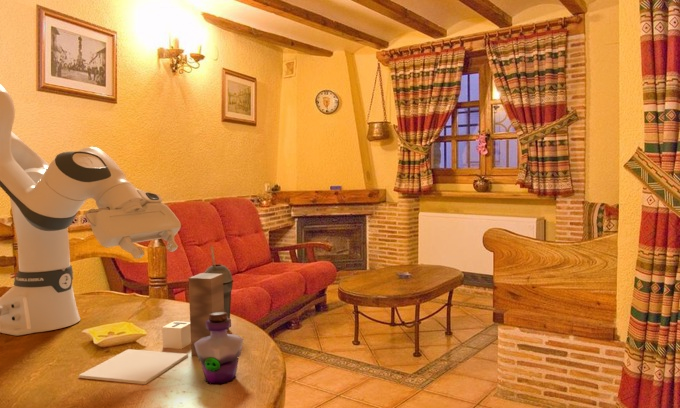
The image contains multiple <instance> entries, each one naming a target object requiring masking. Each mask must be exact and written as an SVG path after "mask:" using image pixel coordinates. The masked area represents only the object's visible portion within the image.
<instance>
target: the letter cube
mask: <svg viewBox="0 0 680 408" xmlns="http://www.w3.org/2000/svg"><path fill="white" fill-rule="evenodd" d="M161 330H162V348H164V349H165V348H166V349H176V350H177V349H178V350H182V348H183V349H184V348H186V347H187V346H189V345H191V329H190V321H181V320H180V321H176V320H175V321H172V322H169V323H167V324H166V325H163V326H162V327H161Z"/></svg>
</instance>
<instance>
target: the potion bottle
mask: <svg viewBox="0 0 680 408" xmlns="http://www.w3.org/2000/svg"><path fill="white" fill-rule="evenodd" d="M231 327H232V319H231V318H230V319H229V318H228V317H227V313H226V312H215V313H211V314H209V320H207V321H206V329H207V330H209V331H210V335H211V336H207V337H202V338H201V339H199V340H198V341H197V342H196V343H194V345H195V348H196V352H197V356H196V357H197V359H198V362H200V364H201V368H202V372H203V375H204V378H205V379H204V382H205V383H207V384H208V385H214V386H215V385H217V386H221V385H225V384H228V383H229V384H230V383H233V381H234V380H235V379H236V378H237V376H236V375H237V370H238V365H239V361H240V359H239V357H240V356H241V355H242V349H243V344H244V338H243V337H241V336H239V335H237V334H234V333H233V334H232V333H228V331H227V329H229V330H230V328H231ZM205 380H206V381H205Z"/></svg>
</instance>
